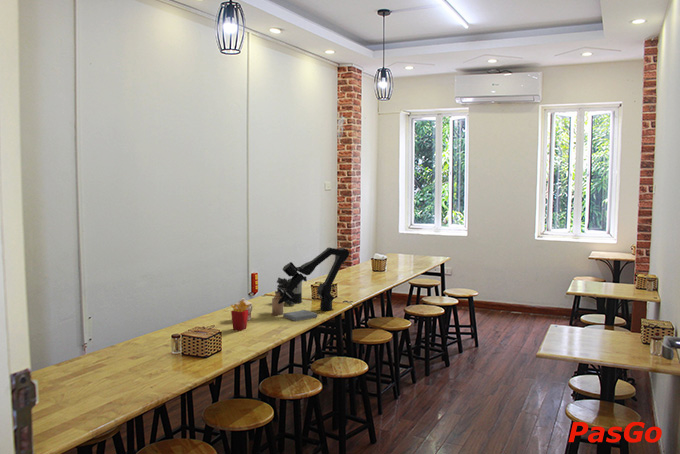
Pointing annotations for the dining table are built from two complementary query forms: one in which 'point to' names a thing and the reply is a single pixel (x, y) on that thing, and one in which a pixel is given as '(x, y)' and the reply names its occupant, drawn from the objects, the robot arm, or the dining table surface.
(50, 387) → the dining table surface
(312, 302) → the dining table surface
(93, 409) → the dining table surface
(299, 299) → the milk frother
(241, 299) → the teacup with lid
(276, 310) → the sauce bottle
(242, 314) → the french fries
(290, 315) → the serving board
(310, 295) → the dining table surface
